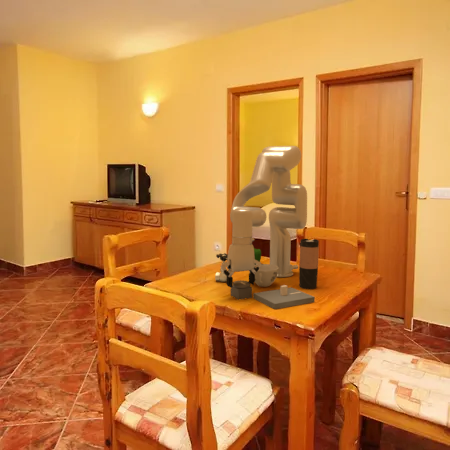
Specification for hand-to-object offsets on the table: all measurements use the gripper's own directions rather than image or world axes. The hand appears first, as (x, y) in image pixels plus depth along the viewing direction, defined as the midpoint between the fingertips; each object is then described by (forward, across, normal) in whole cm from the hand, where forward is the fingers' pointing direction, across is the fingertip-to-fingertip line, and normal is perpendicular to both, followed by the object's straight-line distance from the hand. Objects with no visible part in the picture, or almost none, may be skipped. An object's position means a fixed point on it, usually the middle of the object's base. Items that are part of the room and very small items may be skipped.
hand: (240, 285), depth 158 cm
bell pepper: (+4, -35, -45) cm, 57 cm away
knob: (+5, -1, 0) cm, 5 cm away
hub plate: (+4, -13, +11) cm, 17 cm away
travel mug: (+4, -33, +1) cm, 33 cm away
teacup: (+4, -17, -9) cm, 20 cm away
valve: (+4, -5, -22) cm, 23 cm away
